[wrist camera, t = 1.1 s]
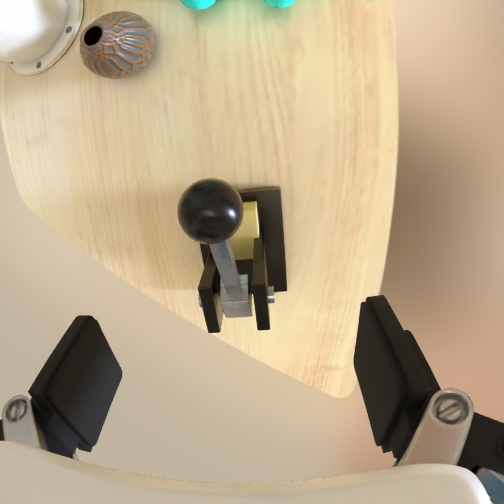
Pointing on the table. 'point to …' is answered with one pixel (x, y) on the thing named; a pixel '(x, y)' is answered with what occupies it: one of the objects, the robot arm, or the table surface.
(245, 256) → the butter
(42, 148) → the table surface
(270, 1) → the turquoise capsule pair
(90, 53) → the vase
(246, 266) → the black lever base
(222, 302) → the ball knob lever
